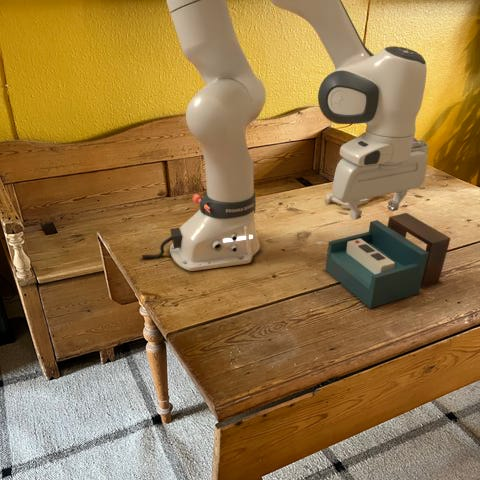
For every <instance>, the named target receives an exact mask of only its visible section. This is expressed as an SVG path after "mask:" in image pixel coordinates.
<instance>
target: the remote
mask: <svg viewBox="0 0 480 480" xmlns="http://www.w3.org/2000/svg"><path fill="white" fill-rule="evenodd" d="M346 253H347V254H349V255H350V256H351V257H353V258H354V259H355V260H357V261H358V262H359V263H360V264H362V265H363V266H364V267H366V268H367V269H368V270H370V271H371V272H372V273H374V274H378V273H382V272H385V271H388V270H392V269H394V266H395V262H393V261H392V260H390V259H389V258H387V257H386V256H385V255H383V254H382V253H380V252H379V251H377V250H376V249H375V248H373V247H372V246H370V245H369V244H368V243H366V242H365V241H363V240H362V239H356V240H352V241H348V242H347V250H346Z"/></svg>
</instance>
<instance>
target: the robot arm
mask: <svg viewBox="0 0 480 480" xmlns="http://www.w3.org/2000/svg"><path fill="white" fill-rule="evenodd" d="M269 1H270V2H271V3H272V4H273V5H274V6H275V7H277V8H278V9H281V10H284V11H287V12H289V13H292V14H294V15H297V16H298V17H300V18H301V19H303V20H305V21H306V22H307V23H308V24H309V25H310V26H311V27H312V28H313V30H314V31H315V33H316V35H317V36H318V38H319V40H320V41H321V43H322V45H323V48H324V49H325V50H326V53H327V54H328V56H329V58H330V60H331V62H332V64H333V66H334V70H333V71H331V72H330V73H329V74H328V75H327V76H326V77H325V78H323V80H322V82H321V83H320V86H319V88H318V91H317V103H318V107H319V109H320V112H321V113H322V115H323V116H324V117H325V118H326V120H328V121H329V122H331V123H334V124H337V125H358V124H365V125H366V127H365V132H363V133H361V134H360V135H358V136H356V137H354V138H353V139H351V140H349V141H347V142H346V143H344V144H342V145H341V146H340V148H339V156H340V157H341V159H340V160H339V161H338V162H337V165H336V168H335V171H334V176H333V180H332V181H333V182H332V191H331V192H333V195H334V196H335V198H337V199H338V200H340V201H341V202H343V203H347V202H348V204H349V207H350V209H349V210H350V211H349V217H350V218H351V219H352V220H355V221H356V220H359V219H361V218H362V214H363V210H361V209H359V207H358V206H359V205H358V204H359V203H360V200H362V199H366V198H371V197H375V198H377V197H380V196H385V195H390V194H394V195H393V197H392V199H391V200H388V202H387V205H386V206H387V210H388V211H389V212H395V211H398V210H399V209H400V204H401V203H402V201H404V198H405V197H406V196H407V193H408V191H409V190H415V189H419V188H421V187H422V185H423V184H424V183H425V180H426V174H427V169H428V168H427V167H428V152H429V145H428V143H427V142H426V141H425V140H421V139H419V140H417V142H413V140H414V138H415V135H416V120H417V117H418V114H419V112H420V110H421V108H422V104H423V99H424V94H425V88H426V83H427V71H428V69H427V63H426V60H425V58H424V56H423V55H422V54H420V53H418V51H415V50H413V49H410V48H406V47H403V46H397V45H393V46H392V45H390V46H386V47H384V49H382V50H380V51H379V52H378V53H376V54H374V53H372V52H371V51H370V50H369V49H368V48H367V46H366V45H365V43H364V42H363V41H362V40H363V39H362V38H361V36H360V34H359V32H358V31H357V29H356V27H355V25H354V23H353V20H352V19H351V17H350V14H349V13H348V11H347V9H346V7H345V6H344V3H343V2H342V0H269ZM165 2H166V5H167V9H168V12H169V15H170V17H171V20H172V24H173V26H174V29H175V32H176V35H177V39H178V41H179V44H180V48H181V51H182V54H183V55H184V57H185V58H186V60H187V61H188V62H190V64H192V65H193V66H194V67H195V68H196V70H197V72H198V74H199V75H200V77H201V79H202V80H203V82H204V84H205V86H204V87H201V88H200V89H199V90H198V91H197V92H196V93H195V95H193V97H192V98H191V100H190V101H189V102H188V104H187V107H186V110H185V121H186V126H187V128H188V130H189V132H190V134H191V135H192V136H193V137H194V138H195V139H196V140H197V141H198V143H199V147H200V149H201V153H202V156H203V160H204V169H205V170H204V171H205V184H206V185H205V186H206V192H205V194H204V196H203V197H202V196H201V195H200V194H199V193H195V194H194V195H193V196H192V201H193V202H194V203H195V204H196V205H199V209H198V211H196V212H195V213H194V214H193V215H192V216H191V217H190V218H188V220H186V221H185V222H184V223H183V224H181V226H180V227H174V228H173V227H172V228H170V229H169V230H170V237H168V238H166V239H165V240H163V242H162V243H161V244H160V245H159V246H160V249H159V250H160V252H159V253H158V254H142V256H141V257H142V259H149V260H150V259H151V260H152V259H159V258H161V257H162V256H163V255H164V254H165V246H166V245H167V244H168V243H169V242H172V243H170V246H169V254H170V256H171V258H172V260H173V261H174V262H175V263H176V265H178V266H179V267H181V268H182V269H184V270H187V271H189V272H195V271H203V270H210V269H216V268H217V269H218V268H224V267H225V268H226V267H231V266H239V265H247V264H250V263H251V262H252V260H253V257H254V256H255V254H257V253H258V252H259V250H260V248H261V244H260V241H259V237H258V233H257V229H256V227H257V226H256V219H255V214H256V210H257V209H256V205H257V204H256V203H257V201H256V200H257V199H256V191H255V188H254V187H255V160H254V158H253V156H252V155H251V154H250V151H249V147H248V143H247V135H246V132H247V127H248V126H249V125H251V124H252V123H253V122H254V121H256V120H257V119H258V117H260V115H261V113H262V111H263V109H264V106H265V104H266V102H267V101H266V100H267V99H266V98H267V91H266V87H265V85H264V83H263V81H262V80H261V78H260V77H259V76H257V75H256V74H255V72H254V71H253V69H252V66H251V65H250V63H249V60H248V59H247V56H246V55H245V53H244V50H243V49H242V46H241V44H240V42H239V39H238V37H237V34H236V30H235V27H234V24H233V21H232V17H231V14H230V10H229V7H228V4H227V3H228V2H227V1H226V0H165ZM376 196H377V197H376ZM357 205H358V206H357Z"/></svg>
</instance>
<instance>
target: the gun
mask: <svg viewBox="0 0 480 480" xmlns="http://www.w3.org/2000/svg"><path fill="white" fill-rule="evenodd" d="M325 198H326V202H327V204H330V203H336V204H339V205H341V209H346V210H351V209H350V207H349V204H348V202H347V203H343V202H341V201H340V200H338V199H337V198H335V196H334V195H333V192H332V191H331V192H329V193H327V194H326V196H325ZM375 198H378V196H376V197H371V198H366V199H362V200H360V203H359V204H358V205H357V207H358V206H360V205H363V204H368V203H369V201H370V200H372V199H375Z"/></svg>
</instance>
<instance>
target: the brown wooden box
mask: <svg viewBox="0 0 480 480" xmlns="http://www.w3.org/2000/svg"><path fill="white" fill-rule="evenodd" d="M386 226H387V227H389V228H391V229H392V230H394V231H395V232H397V233H398V234H400V235H402V236H403V237H405V238H406V239H407V233H408V234H409V235H411V236H412V237H414V238H416V239H417V240H419V241H421V242H422V243H424V244H426V246H425V249H424V250H425V251H427V252H429V255H428V259H427V263H426V267H425V271H424V275H423V279H422V283H421V287H420V288H423V287H426V286H430V285H434V284H437V283H439V282H440V279H441V275H442V271H443V267H444V263H445V260H446V256H447V253H448V250H449V246H450V243H451V239H452V238H451V237H450V236H447V235H446V234H444V233H442V232H441V231H439V230H438V229H435V228H434V227H432V226H430V225H429V224H427V223H425V222H423V221H422V220H420V219H418V218H416V217H415V216H413V215H411V214H410V213H408V212H404V213H403V212H402V213H400V214H396V215H392V216H388V222H387V225H386Z"/></svg>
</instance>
